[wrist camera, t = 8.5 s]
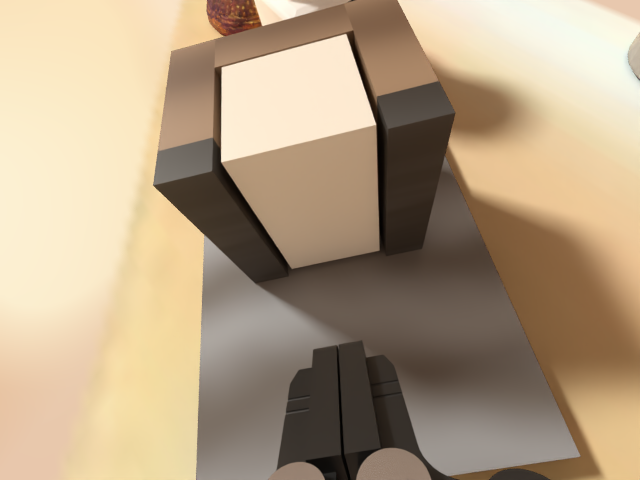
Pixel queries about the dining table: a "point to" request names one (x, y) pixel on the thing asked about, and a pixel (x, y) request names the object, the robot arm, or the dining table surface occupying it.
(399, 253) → the u-shaped block stand
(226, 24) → the bell
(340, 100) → the peg
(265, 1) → the medicine bottle
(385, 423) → the robot arm
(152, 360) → the dining table surface
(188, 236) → the dining table surface
